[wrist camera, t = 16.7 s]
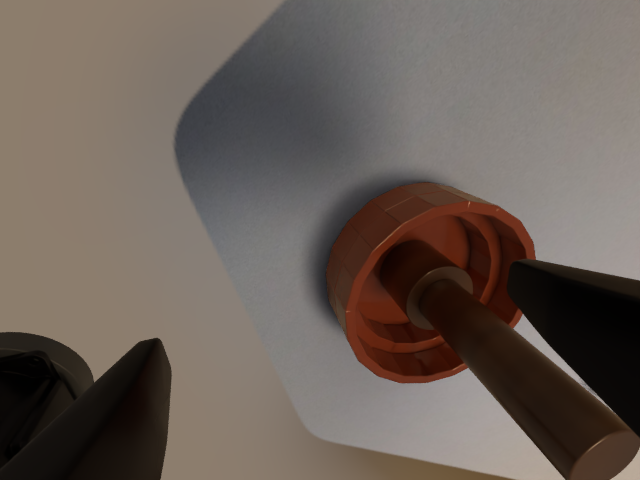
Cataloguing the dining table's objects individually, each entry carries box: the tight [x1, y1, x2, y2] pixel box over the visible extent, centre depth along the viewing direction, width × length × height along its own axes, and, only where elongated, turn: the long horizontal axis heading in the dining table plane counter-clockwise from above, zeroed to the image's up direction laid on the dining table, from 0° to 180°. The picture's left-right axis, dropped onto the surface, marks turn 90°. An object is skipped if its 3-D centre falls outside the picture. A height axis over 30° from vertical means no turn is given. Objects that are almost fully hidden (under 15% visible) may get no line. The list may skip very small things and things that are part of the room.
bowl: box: [326, 182, 536, 383], centre depth 22 cm, size 12×12×5 cm
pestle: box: [380, 240, 640, 480], centre depth 17 cm, size 4×4×14 cm
